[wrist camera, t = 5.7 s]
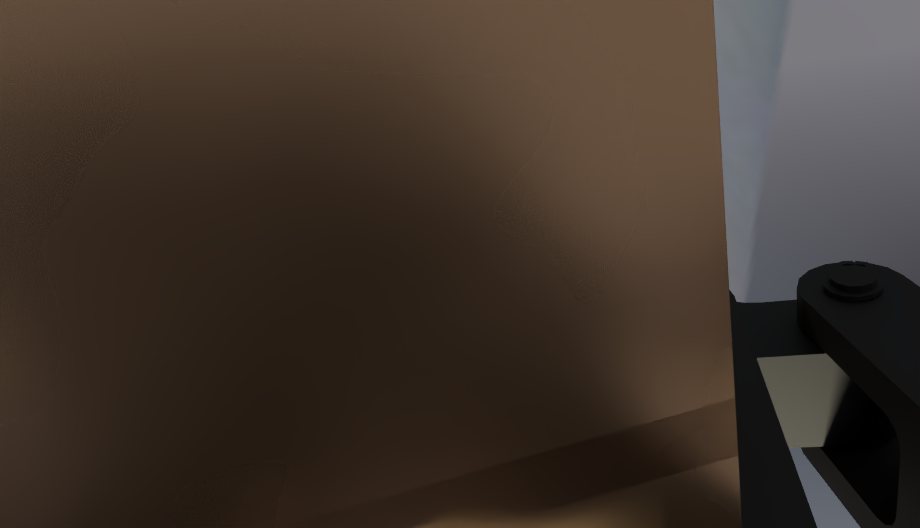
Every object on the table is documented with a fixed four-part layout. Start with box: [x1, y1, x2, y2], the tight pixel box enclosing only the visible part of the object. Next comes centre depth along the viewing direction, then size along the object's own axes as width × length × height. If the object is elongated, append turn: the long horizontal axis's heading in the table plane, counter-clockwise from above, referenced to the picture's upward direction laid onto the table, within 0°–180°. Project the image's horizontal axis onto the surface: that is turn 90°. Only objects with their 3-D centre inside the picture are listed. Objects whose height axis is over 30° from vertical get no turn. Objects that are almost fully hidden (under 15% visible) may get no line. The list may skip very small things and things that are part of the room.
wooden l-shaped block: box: [0, 0, 742, 528], centre depth 10 cm, size 6×12×12 cm, turn 12°
